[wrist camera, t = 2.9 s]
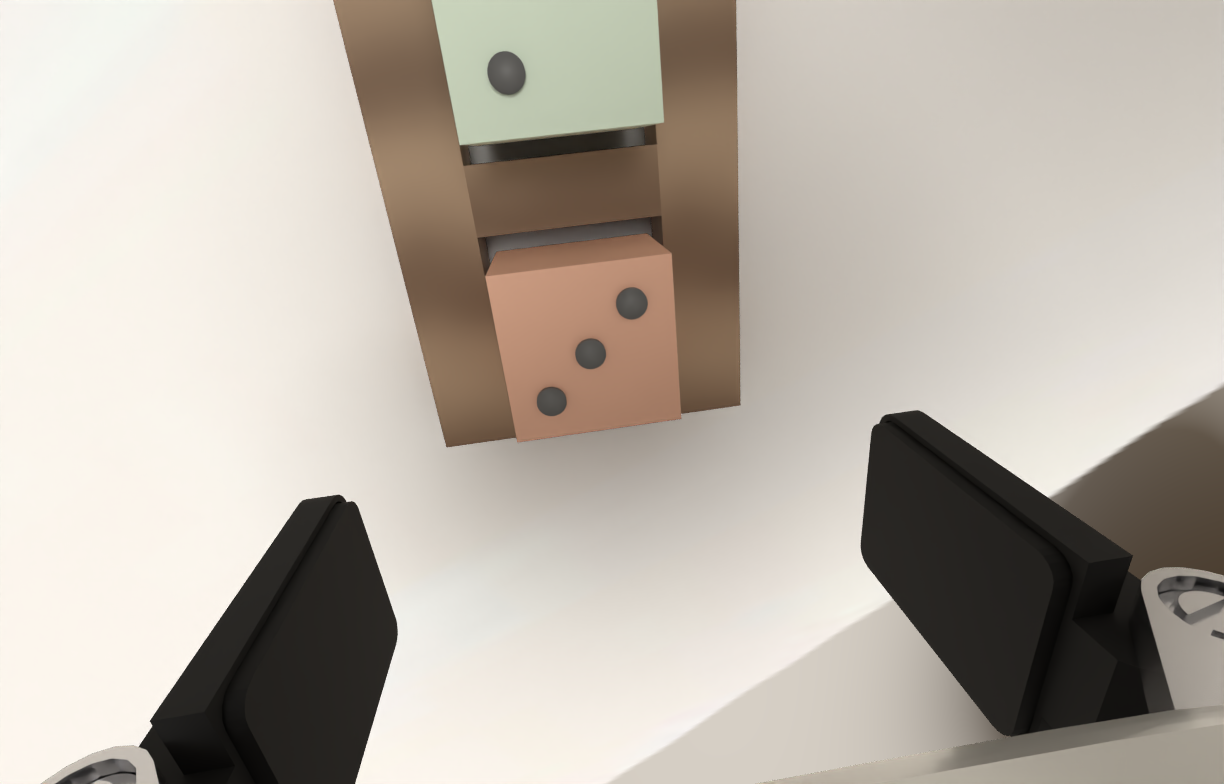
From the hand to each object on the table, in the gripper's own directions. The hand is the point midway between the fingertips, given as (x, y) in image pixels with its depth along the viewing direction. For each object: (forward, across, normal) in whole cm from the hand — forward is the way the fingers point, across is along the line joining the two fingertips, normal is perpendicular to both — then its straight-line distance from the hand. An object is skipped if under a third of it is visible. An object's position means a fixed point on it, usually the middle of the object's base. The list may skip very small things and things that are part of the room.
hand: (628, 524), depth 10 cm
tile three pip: (+14, 0, 0) cm, 14 cm away
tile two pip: (+14, 0, -9) cm, 17 cm away
